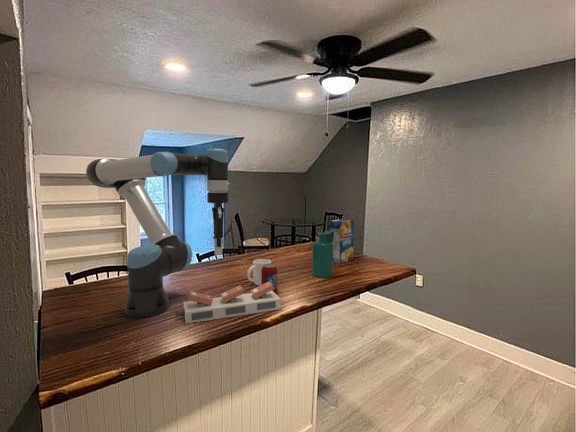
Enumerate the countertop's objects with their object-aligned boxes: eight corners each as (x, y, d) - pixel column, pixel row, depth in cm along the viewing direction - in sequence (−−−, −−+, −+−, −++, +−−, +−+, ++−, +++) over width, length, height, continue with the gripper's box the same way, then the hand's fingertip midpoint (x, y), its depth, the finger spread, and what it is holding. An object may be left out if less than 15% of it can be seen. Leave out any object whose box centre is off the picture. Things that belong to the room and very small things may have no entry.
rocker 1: (188, 300, 111) (190, 294, 111) (187, 295, 116) (189, 290, 116) (211, 304, 114) (212, 299, 114) (209, 300, 119) (211, 295, 119)
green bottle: (322, 279, 157) (323, 234, 154) (310, 275, 163) (310, 232, 161) (336, 274, 163) (336, 231, 161) (323, 271, 170) (324, 229, 167)
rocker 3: (255, 298, 120) (253, 294, 120) (252, 294, 124) (250, 290, 124) (274, 289, 123) (272, 284, 122) (270, 285, 127) (269, 280, 126)
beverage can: (271, 296, 134) (271, 268, 133) (258, 293, 138) (258, 266, 136) (280, 291, 140) (280, 264, 138) (267, 288, 143) (267, 262, 142)
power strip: (176, 325, 108) (175, 310, 107) (175, 313, 117) (174, 299, 117) (280, 309, 121) (280, 295, 121) (272, 299, 131) (272, 287, 130)
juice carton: (343, 257, 197) (344, 218, 194) (353, 260, 192) (354, 220, 189) (329, 261, 190) (330, 220, 187) (339, 263, 184) (340, 222, 181)
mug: (252, 288, 143) (251, 266, 142) (243, 283, 150) (242, 262, 149) (274, 283, 151) (274, 261, 149) (264, 279, 157) (264, 258, 156)
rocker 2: (224, 302, 116) (222, 298, 116) (221, 298, 120) (220, 293, 120) (244, 293, 118) (242, 288, 118) (241, 289, 123) (240, 284, 122)
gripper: (230, 193, 114) (231, 258, 117) (225, 190, 126) (226, 250, 129) (208, 193, 111) (209, 259, 114) (205, 190, 123) (206, 251, 126)
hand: (218, 254), depth 122 cm, fingers closed
